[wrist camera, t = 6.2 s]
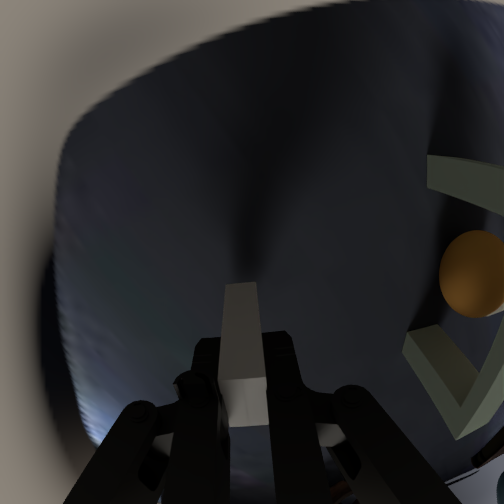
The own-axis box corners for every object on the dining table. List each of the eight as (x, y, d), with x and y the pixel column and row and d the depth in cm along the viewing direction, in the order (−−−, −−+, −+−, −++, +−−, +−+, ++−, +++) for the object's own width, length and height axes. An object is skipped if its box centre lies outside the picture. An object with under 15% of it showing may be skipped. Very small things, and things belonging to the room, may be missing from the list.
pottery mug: (274, 480, 28) (307, 517, 20) (333, 442, 31) (373, 469, 23) (299, 515, 29) (327, 544, 21) (348, 482, 32) (380, 506, 25)
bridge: (460, 157, 14) (575, 187, 5) (431, 343, 19) (488, 422, 11) (427, 154, 14) (552, 183, 5) (401, 352, 19) (455, 440, 10)
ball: (510, 226, 13) (532, 256, 9) (494, 296, 15) (504, 340, 11) (443, 215, 16) (448, 240, 12) (432, 286, 18) (429, 327, 14)
